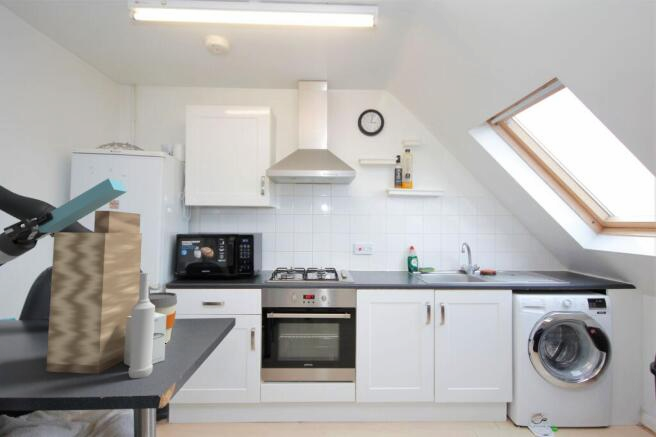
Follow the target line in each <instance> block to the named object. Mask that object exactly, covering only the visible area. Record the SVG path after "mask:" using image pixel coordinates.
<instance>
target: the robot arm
mask: <svg viewBox="0 0 656 437" xmlns="http://www.w3.org/2000/svg"><path fill="white" fill-rule="evenodd" d="M57 208H58V207H56V206H54V205H52V204H50V203H49V202H48V201H47V202H46V201H44V200H41V199H37V198H34V197H29V196H24V195H21V194H18V193H16V192H13V191H11V190H10V189H8V188H6V187H5V186H3V185H1V184H0V211H2V212H4V213H5V214H8V215H9V216H11V217H12V218H15V219H17V220H19V221H17V222H15V223H13V224H11V225H8V226H6V227H5V228H3V231H4V232H1V233H0V267H2V266H3V265H6V264H7V263H9V262H11V261H13V260H15V259H17V258H19V257H20V256H23V255H24V254H26V253H28V252H29V251H31V250H32V249H34V248H36V246H37V244H38V241H39V240H41V239H44V238H46V236H50V238H54V233H45V232H39V229H38V228H39V227H41V226H40V225H44V224H46V223H47V222H49V221H51V220H52V219H53V216H52V214H51V213H50V212H52V211H53V210H55V209H57ZM59 232H63V233H94V230H91V229H89V228H87V227H86V226H84V225H83V224H82V223H81V222H79V220H78V221H76V222H74V223H73V224H71V225H69V226H67V227H66V228H64V229H62V230H60V231H59Z"/></svg>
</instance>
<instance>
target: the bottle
mask: <svg viewBox="0 0 656 437" xmlns="http://www.w3.org/2000/svg"><path fill="white" fill-rule="evenodd" d="M149 285H150V272H140V288H139V300H138V302H137V303H136V304H135V305H134V306H133V307H132V308H131V352H130V366H129V368H128V376H129V378H131V379H141V378H145V377H148V376H150V375H151V374H152V372H153V370H154V364H152V349H153V333H154V317H155V305H153V304H152V303H151V302H150V300H149V299H148V293H150V292H149V290H150V289H149V288H150V286H149Z"/></svg>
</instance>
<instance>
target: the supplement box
mask: <svg viewBox="0 0 656 437" xmlns="http://www.w3.org/2000/svg"><path fill="white" fill-rule="evenodd" d="M165 336H166V315H165V314H161V313H156V312H155V317H154V333H153V349H152V365H154V364H158V363H161V362H164V361H165V357H166V355H165V353H166V344H165ZM130 352H131V316H128V317H126V333H125V352H124V360H123V363H124V365H126V366H128V367H130Z"/></svg>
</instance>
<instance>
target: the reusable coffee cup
mask: <svg viewBox="0 0 656 437" xmlns="http://www.w3.org/2000/svg"><path fill="white" fill-rule="evenodd" d="M177 296H178V295H177V293H175V292H170V291H169V292H168V291H167V292H163V291H162V292H161V291H160V292H149V293H148V299H149V300H150V302H151V303H152V304H153V305H155V312H156V313H161V314H165V315H166V336H165V343H167V342H168V341H169V340H170V341H171V334H172V330H173V327H174V325H175V320H176V315H177V311H176V306H177V303H178V298H177ZM170 341H169V342H170ZM167 344H168V343H167Z"/></svg>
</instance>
